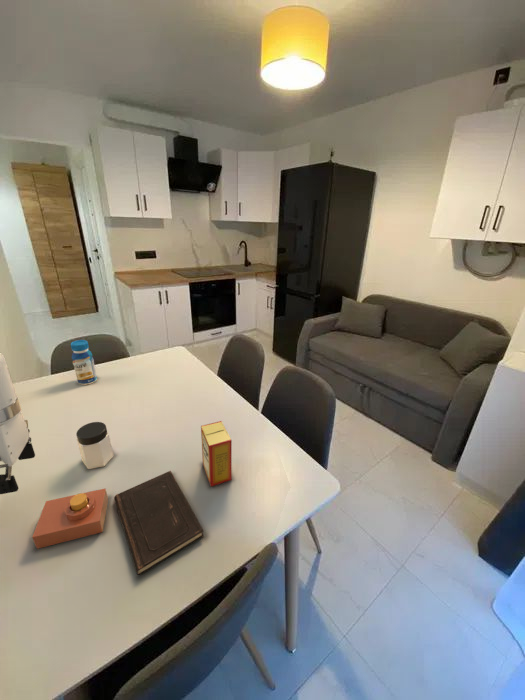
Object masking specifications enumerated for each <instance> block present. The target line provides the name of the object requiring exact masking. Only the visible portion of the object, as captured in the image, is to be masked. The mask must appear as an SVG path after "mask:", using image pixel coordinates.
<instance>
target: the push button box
mask: <svg viewBox="0 0 525 700" xmlns="http://www.w3.org/2000/svg"><path fill="white" fill-rule="evenodd" d="M83 493H84V494H86V496H87V500H88V504H87V506H86V507H85V508H83V509H81V510H79V511H73V510H72V508H71V505H70V500H71V498H72V497H74V496H75V495H76V494H73V495H67V496H62V497H58V498H54V499H53V498H52V499H49V500H46V501H45V503H44V506H43V508H42V510H41V513H40V516H39V518H38V521H37V524H36V526H35V529H34V531H33V534H32V537H31V539H32V541H33V543H34V545H35V548H36V549H41V548H42V549H43V548H46V547H50V546H52V545H53V546H54V545H57V544H58V545H59V544H62V543H66V542H69V541H72V540H77V539H81V538H85V537H89V536H93V535H97V534H101V533H103V531H104V526H105V520H106V519H105V518H106V513H107V508H108V504H109V503H108V502H109V496H108V493H107V488H106V487H105V488H100V489H95V490H91V491H87V492H83Z"/></svg>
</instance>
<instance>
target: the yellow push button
mask: <svg viewBox="0 0 525 700" xmlns="http://www.w3.org/2000/svg"><path fill="white" fill-rule="evenodd" d="M84 493H85V492H80V493H76V494H74V495H75V496H74V497H72V498H71V500H70V505H71V508H72V510H73V511H79V510H81V509H83V508H85V507H86V506H87V504H88V500H87V496H86V494H84Z"/></svg>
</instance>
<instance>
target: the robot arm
mask: <svg viewBox="0 0 525 700" xmlns="http://www.w3.org/2000/svg"><path fill="white" fill-rule="evenodd" d="M22 411H23V410H22V406H21V403H20V400H19V397H18V395H17V392H16V388H15V384H14V382H13V379H12V376H11V373H10V370H9V366H8V364H7V361H6V358H5V355H4V354H3V353H2V352H0V462H2V463H3V464H0V469H3V468H5V471H4V472H5V473H2V474H0V495H6V494H10V493H16V492H18V491H19V485H18V483H17V479H16V477H15V475H13V474H12V470H13V469H12V468H13V465H14V464H16V462H17V461H18V460H19V461H22V460H29V459H34V458H35V457H36V452H35V449H34V447H33V443H32V437H31V436H30V431H31V430H30V429H29V422H28V419H25V417H24V415H23V413H22Z"/></svg>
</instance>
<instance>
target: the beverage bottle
mask: <svg viewBox="0 0 525 700" xmlns="http://www.w3.org/2000/svg"><path fill="white" fill-rule="evenodd" d="M70 348H71V351H72V354H71V359H72V365H73V368H74V372H75V375H76V376H75V377H76V381H77V384H79V385H82V386H83V385H85V386H87V385H91V384H93V383H95V382H96V381H97V380H98V376H97V371H96V365H95V360H94V357H93V353H92V351H91V350H90V349H89V348H90V346H89V342H88V340H86V339H77V340H74V341H72V342H71V343H70Z"/></svg>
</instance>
